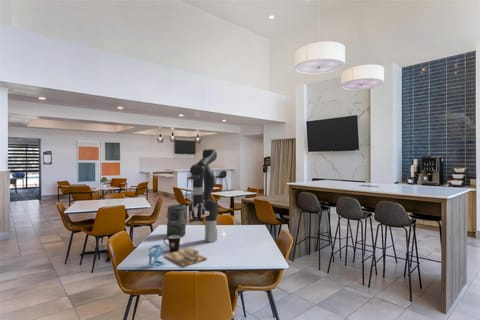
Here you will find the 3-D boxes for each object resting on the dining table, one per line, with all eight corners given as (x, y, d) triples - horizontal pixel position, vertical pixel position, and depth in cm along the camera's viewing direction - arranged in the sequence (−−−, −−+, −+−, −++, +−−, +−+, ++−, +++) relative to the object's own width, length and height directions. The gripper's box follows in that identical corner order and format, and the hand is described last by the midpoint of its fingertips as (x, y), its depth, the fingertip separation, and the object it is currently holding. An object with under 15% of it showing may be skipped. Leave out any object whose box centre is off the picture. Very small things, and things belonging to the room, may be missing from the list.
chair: (146, 265, 169) (146, 246, 169) (156, 261, 176) (157, 243, 176) (154, 268, 165) (154, 249, 165) (164, 264, 172) (165, 245, 172)
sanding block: (190, 256, 182) (190, 247, 182) (198, 259, 176) (198, 250, 176) (184, 257, 179) (184, 248, 179) (191, 261, 172) (192, 252, 172)
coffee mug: (182, 250, 199) (182, 236, 199) (174, 253, 191) (174, 239, 191) (171, 247, 205) (171, 234, 205) (162, 250, 197) (162, 236, 197)
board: (186, 250, 197) (186, 248, 197) (206, 259, 180) (206, 257, 180) (164, 256, 184) (164, 254, 184) (183, 267, 167) (183, 264, 167)
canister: (181, 238, 227) (181, 205, 227) (163, 237, 230) (164, 204, 230) (187, 233, 243) (188, 202, 243) (171, 232, 245) (171, 201, 245)
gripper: (202, 191, 200) (202, 213, 201) (186, 194, 190) (186, 216, 190) (209, 192, 195) (209, 215, 195) (192, 195, 185) (193, 218, 185)
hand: (198, 215), depth 193 cm, fingers open, 8 cm apart
